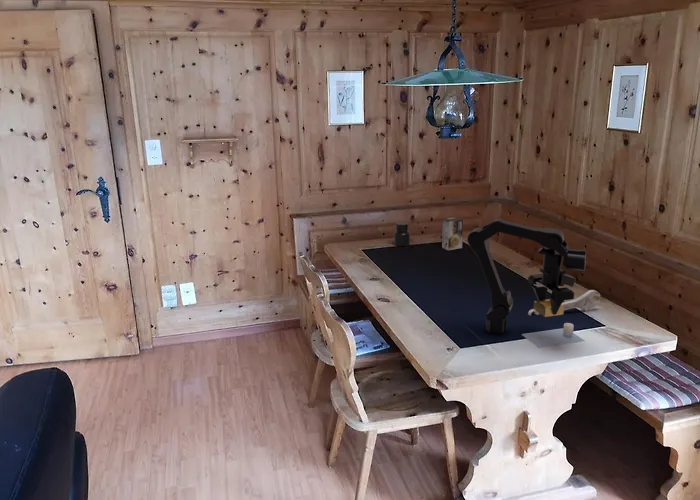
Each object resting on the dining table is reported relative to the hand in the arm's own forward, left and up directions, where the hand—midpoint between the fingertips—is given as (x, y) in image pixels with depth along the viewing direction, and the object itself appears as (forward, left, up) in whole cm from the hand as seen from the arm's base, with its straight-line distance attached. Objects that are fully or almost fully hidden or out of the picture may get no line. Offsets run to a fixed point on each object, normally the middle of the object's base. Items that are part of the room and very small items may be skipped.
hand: (548, 310), depth 195 cm
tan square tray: (0, 0, -1) cm, 0 cm away
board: (+3, 0, -12) cm, 12 cm away
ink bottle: (-6, +128, -12) cm, 129 cm away
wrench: (+21, +19, -12) cm, 31 cm away
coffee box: (+17, +113, -12) cm, 115 cm away
